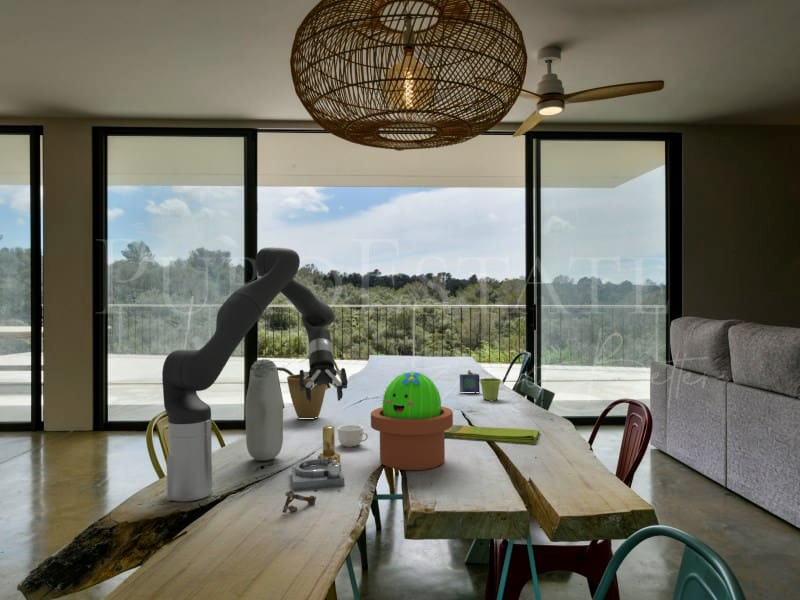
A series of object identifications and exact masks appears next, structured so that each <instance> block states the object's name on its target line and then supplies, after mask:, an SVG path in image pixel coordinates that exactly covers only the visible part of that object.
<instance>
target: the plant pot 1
mask: <svg viewBox="0 0 800 600" xmlns="http://www.w3.org/2000/svg"><path fill="white" fill-rule="evenodd" d="M299 377H300V373H298V374H293V375H288V376H287V377H286V379H287V380H286V381H287V386H288V390H289V394H290V395H289V396H290V398H291V402H292V405H293V408H294V411H295V413H296V416H297V418H298V417H299V418H315V417H318V416H320V414H321V410H322V406H323V403H324V398H325V394H326V387H327V385H325V384H322V385H318V384H316V385H315V386H314V387H313V388H312V389H311V402H308V400H306V392H305V391H304V390H302V391H300V390H299ZM310 379H311V378H309V376H307V377H306V379H304V382H303V384H305V385H306V384H307V383H308V382H309V380H310ZM318 418H319V417H318Z"/></svg>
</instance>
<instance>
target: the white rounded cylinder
mask: <svg viewBox="0 0 800 600" xmlns="http://www.w3.org/2000/svg"><path fill="white" fill-rule="evenodd" d="M278 372H279V371H278V367H277V365H276V363H275V362H274V361H273V360H270V359H257V360H256V361H254V362H253V364H252V365H251V367H250V371H249V380H248V381H249V382H248V388H247V392H246V396H245V397H246V398H245V408H244V412H245V415H244V416H245V417H244V418H245V436H246V437H245V442H246V443H245V444H246V450H247V452H248V454H249V455H250V456H251V458H252V459H254V460H255V461H256V460H257V461H261V462H263V461H264V462H266V461H271V460H273V459H275V458H276V457H277V456H278V455H279V454H280V452H281V451H282V447H283V443H284V401H283V400H284V399H283V395H282V391H281V388H280V387H281V385H280V383H279V382H280V381H279V374H278Z"/></svg>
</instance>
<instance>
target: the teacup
mask: <svg viewBox="0 0 800 600" xmlns="http://www.w3.org/2000/svg"><path fill="white" fill-rule="evenodd" d="M364 435H365V439H363V438H364ZM337 438H338V439H337V440H338V442H339V443H340V445H341V446H343V447H345V446H346V447H345V448H353V447H352V446H355V447H357V445H358V446H359V445H360V444H361V443H362V442H365V441H367V440H368V438H369V437H368V433H367V432H365V431H364V426H363V425H359V424H344V425H340V426H338V427H337Z"/></svg>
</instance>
